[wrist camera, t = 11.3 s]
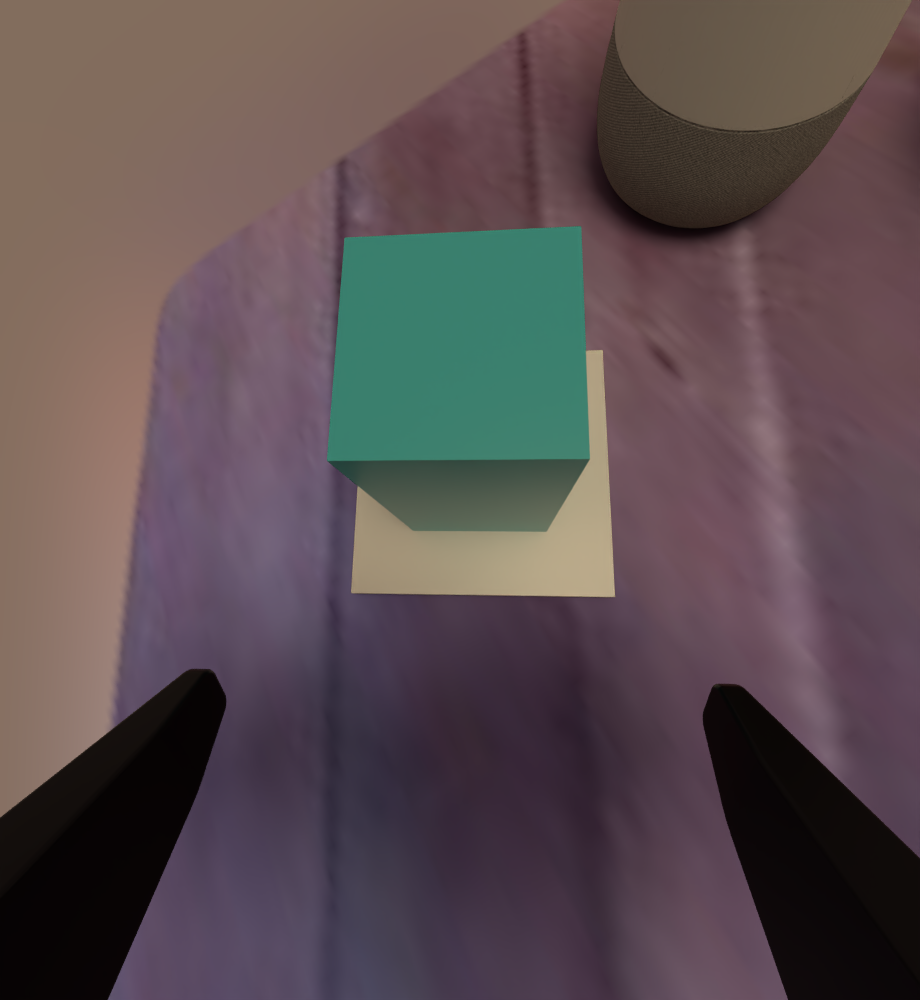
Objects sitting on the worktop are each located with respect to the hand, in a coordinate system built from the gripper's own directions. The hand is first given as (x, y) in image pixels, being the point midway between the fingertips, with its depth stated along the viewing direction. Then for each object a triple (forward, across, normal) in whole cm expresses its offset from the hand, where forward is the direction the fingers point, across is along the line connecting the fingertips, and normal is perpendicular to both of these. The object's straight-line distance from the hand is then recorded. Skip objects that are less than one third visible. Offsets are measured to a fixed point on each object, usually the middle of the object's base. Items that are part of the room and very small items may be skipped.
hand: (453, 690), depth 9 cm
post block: (+12, 0, +2) cm, 12 cm away
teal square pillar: (+12, 0, +2) cm, 12 cm away
